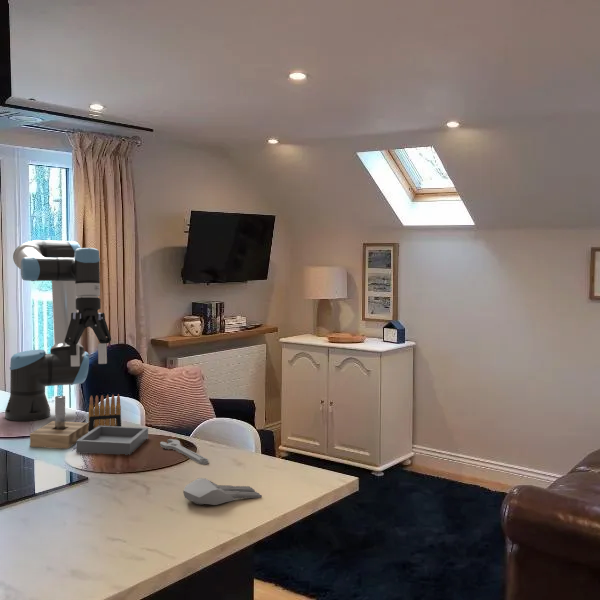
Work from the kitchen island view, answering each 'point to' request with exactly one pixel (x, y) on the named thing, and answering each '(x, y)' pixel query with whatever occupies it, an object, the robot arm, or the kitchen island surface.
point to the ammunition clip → (104, 413)
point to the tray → (112, 440)
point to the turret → (216, 492)
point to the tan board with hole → (58, 435)
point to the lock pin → (60, 413)
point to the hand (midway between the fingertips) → (89, 365)
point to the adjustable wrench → (183, 451)
